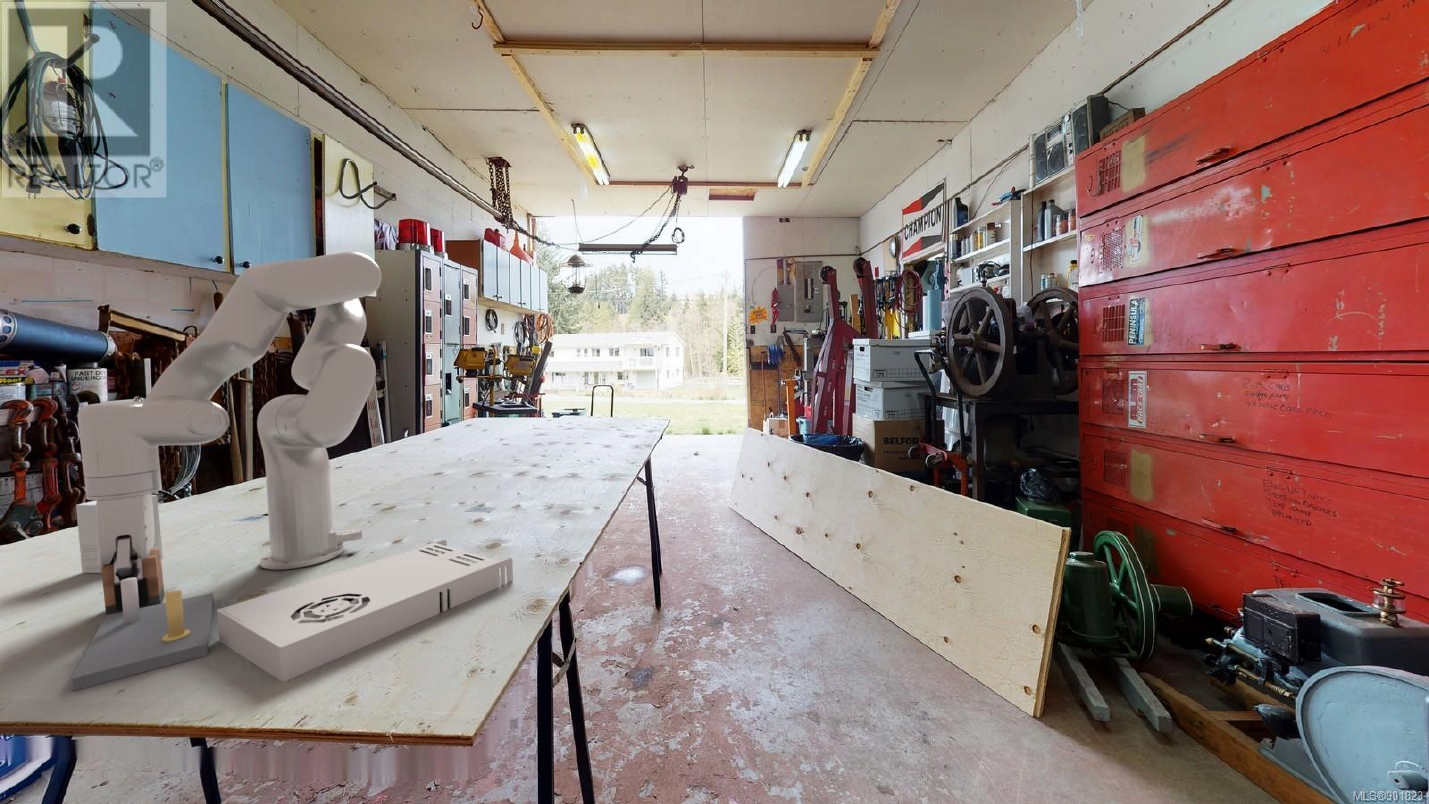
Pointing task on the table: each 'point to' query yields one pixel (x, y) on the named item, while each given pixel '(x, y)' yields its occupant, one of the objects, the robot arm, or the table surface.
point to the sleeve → (150, 571)
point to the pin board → (146, 636)
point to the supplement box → (88, 534)
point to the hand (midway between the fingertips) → (136, 598)
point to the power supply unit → (354, 607)
